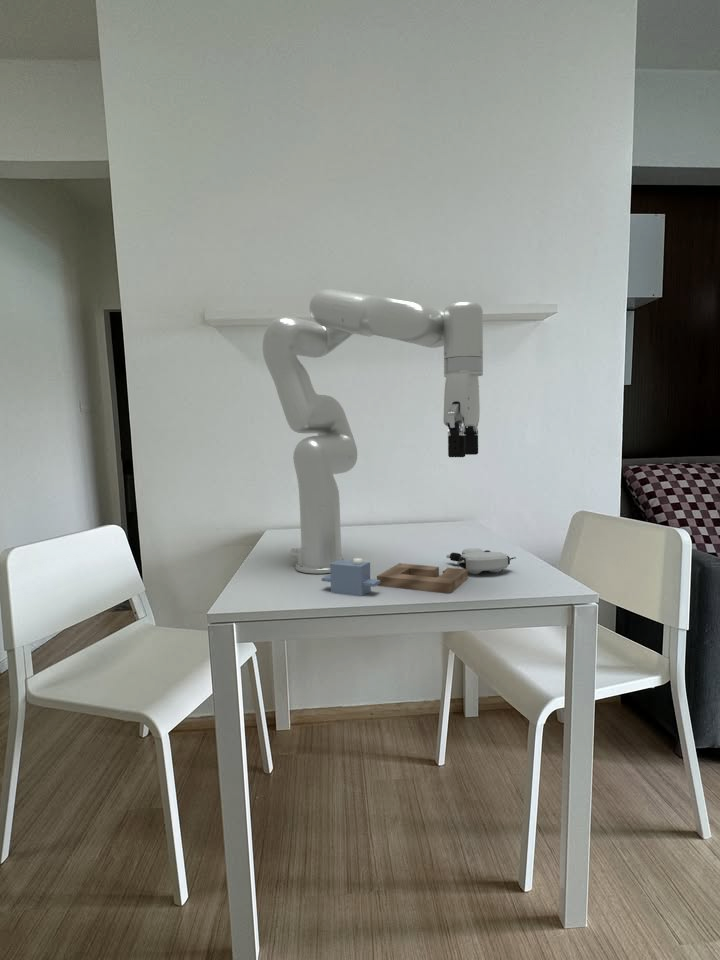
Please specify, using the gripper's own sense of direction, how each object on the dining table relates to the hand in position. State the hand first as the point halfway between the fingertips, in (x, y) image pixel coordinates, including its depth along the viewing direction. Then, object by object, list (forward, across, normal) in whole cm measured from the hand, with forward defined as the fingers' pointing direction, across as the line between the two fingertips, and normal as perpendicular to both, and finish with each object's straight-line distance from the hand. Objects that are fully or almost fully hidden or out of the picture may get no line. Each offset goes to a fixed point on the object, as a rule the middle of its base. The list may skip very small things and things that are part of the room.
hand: (463, 455), depth 109 cm
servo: (+27, +10, -21) cm, 36 cm away
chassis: (+27, -2, -9) cm, 29 cm away
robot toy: (+27, -16, -1) cm, 32 cm away
